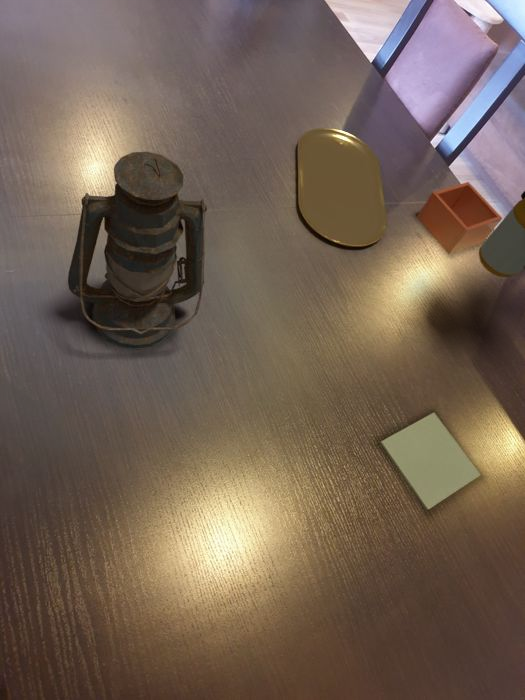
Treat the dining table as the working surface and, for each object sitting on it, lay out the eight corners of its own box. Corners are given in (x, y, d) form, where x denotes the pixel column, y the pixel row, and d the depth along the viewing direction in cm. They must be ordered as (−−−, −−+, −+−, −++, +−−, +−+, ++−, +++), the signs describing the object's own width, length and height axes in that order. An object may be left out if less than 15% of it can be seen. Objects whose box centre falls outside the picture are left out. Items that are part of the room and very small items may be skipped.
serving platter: (296, 240, 107) (299, 234, 106) (295, 125, 126) (297, 119, 125) (388, 258, 111) (391, 253, 110) (373, 144, 130) (376, 138, 129)
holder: (451, 205, 125) (468, 181, 119) (483, 241, 121) (502, 218, 115) (416, 216, 120) (432, 192, 114) (448, 254, 116) (467, 230, 110)
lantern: (190, 283, 96) (224, 136, 71) (201, 356, 88) (242, 221, 64) (69, 282, 90) (60, 121, 65) (70, 360, 83) (60, 213, 58)
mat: (432, 413, 94) (434, 412, 93) (478, 476, 89) (481, 474, 89) (379, 442, 88) (381, 441, 88) (426, 511, 84) (428, 509, 84)
